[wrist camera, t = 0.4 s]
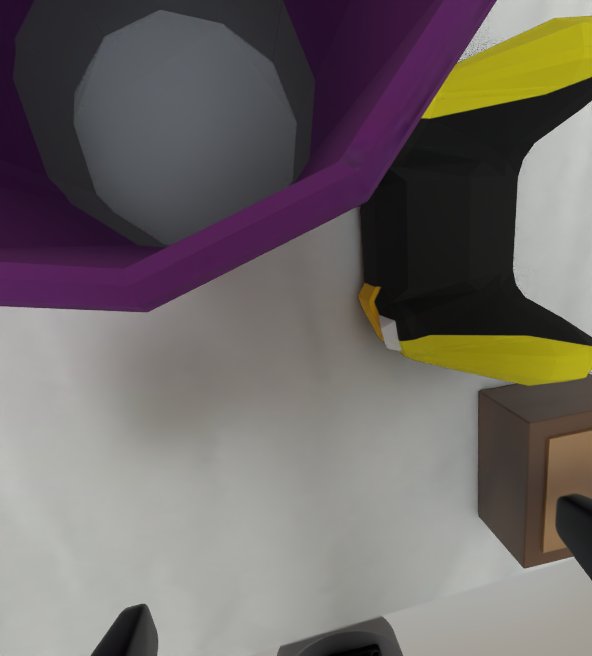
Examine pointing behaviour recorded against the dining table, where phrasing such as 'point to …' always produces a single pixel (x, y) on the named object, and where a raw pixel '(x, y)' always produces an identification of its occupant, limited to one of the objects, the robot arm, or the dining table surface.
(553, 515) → the walnut stand
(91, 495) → the dining table surface
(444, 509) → the dining table surface
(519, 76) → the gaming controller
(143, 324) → the dining table surface
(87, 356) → the dining table surface
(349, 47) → the mug
